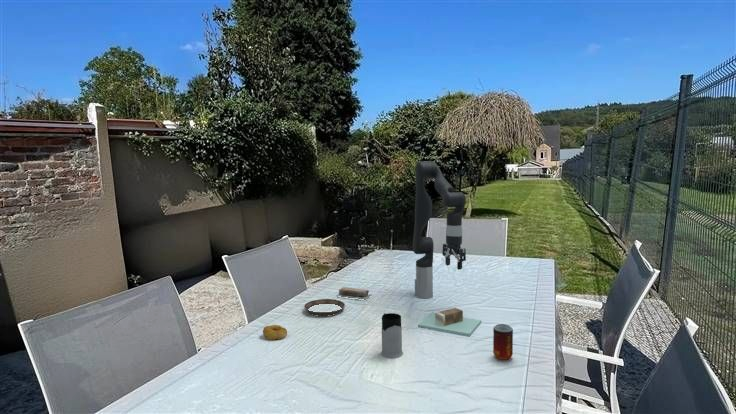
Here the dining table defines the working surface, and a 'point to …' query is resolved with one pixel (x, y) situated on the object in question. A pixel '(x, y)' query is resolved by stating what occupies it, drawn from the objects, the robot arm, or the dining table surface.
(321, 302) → the plant saucer
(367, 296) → the packaged product
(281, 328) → the bagel
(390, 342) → the glass holder
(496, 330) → the soda can
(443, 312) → the brown tall square block
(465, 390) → the dining table surface
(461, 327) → the sage board
